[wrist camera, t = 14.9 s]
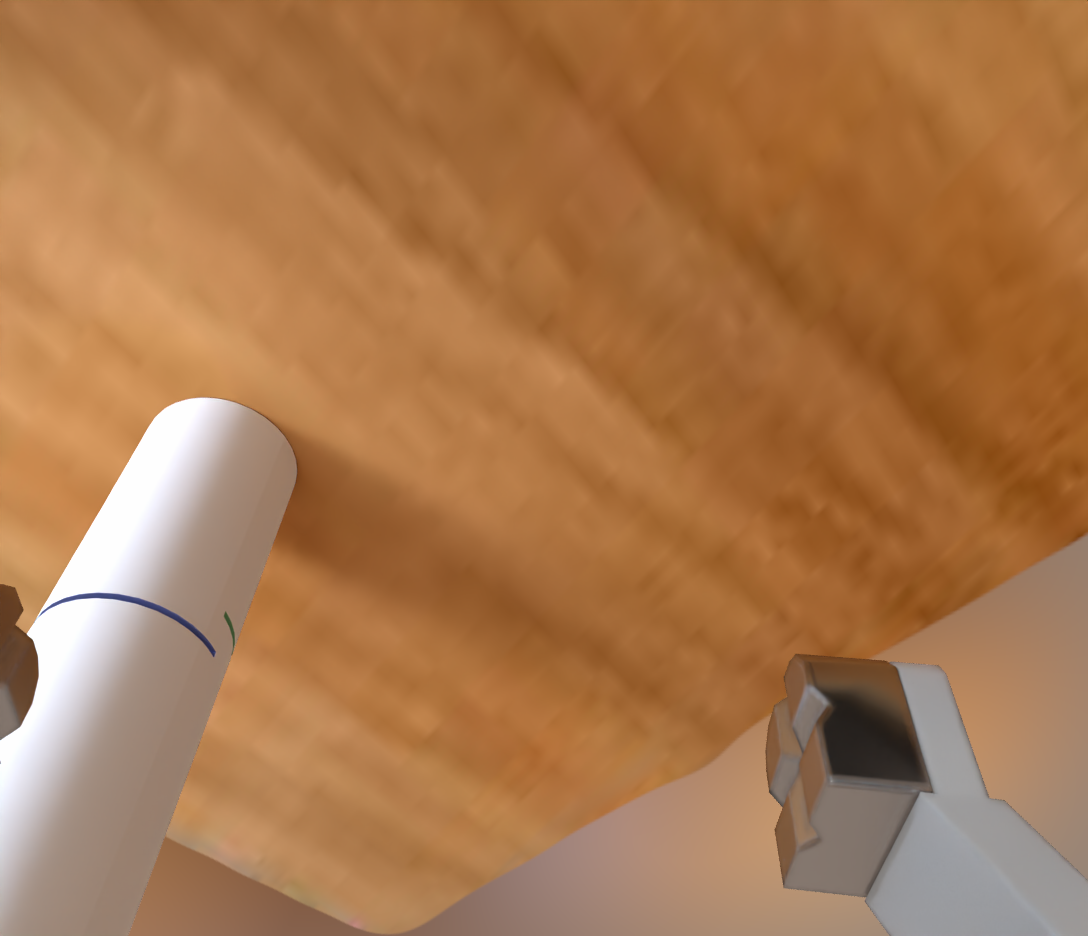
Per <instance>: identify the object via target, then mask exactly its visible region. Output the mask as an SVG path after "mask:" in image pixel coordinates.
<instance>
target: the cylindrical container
mask: <svg viewBox="0 0 1088 936" xmlns="http://www.w3.org/2000/svg"><path fill="white" fill-rule="evenodd" d="M296 477H297V464H296V458H295V455H294V453H293V450H292V447H291V446H290V444H289V442H288V441H287V439H286V437H285V436H284V435H283V434H282V433H281V432H280V430H279V429H278V428H277V427H276V426H275V425H274V424H272V423H271V422H270V421H269V420H268V419H266V418H265V417H264V416H262V415H260V414H259V413H257V412H255V411H254V410H252V409H250V408H248V407H245V406H243V405H240V404H238V403H235V402H231V401H227V400H223V399H216V398H194V399H187V400H184V401H180V402H177V403H175V404H173V405H171V406H169V407H167V408H165V409H164V410H163V411H162V412H161V413H159V414H158V415H157V416H156V417H155V419H154V420H153V422H152V423H151V425H150V426H149V428H148V430H147V431H146V433H145V435H144V437H143V438H142V440H141V442H140V443H139V445H138V447H137V449H136V450H135V452H134V454H133V455H132V457H131V459H130V461H129V462H128V464H127V466H126V467H125V469H124V471H123V473H122V474H121V476H120V478H119V479H118V481H117V483H116V485H115V486H114V488H113V490H112V491H111V493H110V495H109V496H108V498H107V500H106V502H105V503H104V505H103V507H102V508H101V510H100V512H99V514H98V515H97V517H96V519H95V520H94V522H93V524H92V525H91V527H90V529H89V530H88V532H87V534H86V536H85V537H84V539H83V541H82V542H81V544H80V546H79V547H78V549H77V551H76V552H75V554H74V556H73V558H72V559H71V561H70V563H69V564H68V566H67V568H66V569H65V571H64V573H63V574H62V576H61V578H60V580H59V581H58V583H57V585H56V586H55V588H54V590H53V591H52V593H51V595H50V596H49V598H48V600H47V602H46V603H45V605H44V607H43V608H42V610H41V612H40V613H39V615H38V617H37V618H36V620H35V622H34V624H33V626H32V627H31V629H30V630H29V632H28V634H27V635H28V636H29V637H30V638H32V639H33V641H34V644H35V647H36V651H37V654H38V665H39V678H38V683H37V687H36V691H35V695H34V699H33V703H32V706H31V707H30V709H29V711H28V713H27V715H26V717H25V719H24V721H23V723H22V725H21V727H20V728H18V729H17V730H15V731H14V732H12V733H11V734H9V735H8V736H6V737H5V738H3V739H2V740H0V762H1V764H0V936H128V934H129V932H130V929H131V927H132V924H133V921H134V918H135V915H136V913H137V910H138V907H139V905H140V902H141V900H142V897H143V894H144V892H145V889H146V886H147V883H148V880H149V878H150V875H151V873H152V870H153V867H154V865H155V862H156V859H157V856H158V854H159V851H160V848H161V846H162V843H163V840H164V837H165V835H166V832H167V829H168V827H169V824H170V821H171V819H172V816H173V813H174V810H175V808H176V805H177V802H178V800H179V797H180V794H181V792H182V789H183V786H184V783H185V781H186V778H187V775H188V773H189V770H190V767H191V765H192V762H193V759H194V756H195V754H196V751H197V748H198V746H199V743H200V740H201V738H202V735H203V732H204V729H205V727H206V724H207V721H208V719H209V716H210V713H211V710H212V708H213V705H214V702H215V700H216V697H217V694H218V692H219V689H220V686H221V683H222V681H223V678H224V675H225V673H226V670H227V667H228V665H229V662H230V659H231V656H232V654H233V651H234V648H235V646H236V643H237V640H238V637H239V635H240V632H241V629H242V627H243V624H244V621H245V619H246V616H247V613H248V610H249V608H250V605H251V602H252V600H253V597H254V594H255V591H256V589H257V586H258V583H259V581H260V578H261V575H262V573H263V570H264V567H265V564H266V562H267V559H268V556H269V554H270V551H271V548H272V545H273V543H274V540H275V537H276V535H277V532H278V529H279V526H280V524H281V521H282V518H283V516H284V513H285V510H286V508H287V505H288V502H289V499H290V497H291V494H292V491H293V489H294V486H295V483H296Z"/></svg>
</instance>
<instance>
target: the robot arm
mask: <svg viewBox="0 0 1088 936" xmlns="http://www.w3.org/2000/svg"><path fill="white" fill-rule="evenodd" d="M22 612H23V607H22V604H21V602H20V599H19V597H18V594H17V591H16V589H15V588H14V587H11V586H7V585H4V584H0V740H2V739H3V738H5V737H6V736H8V735H9V734H11V733H12V732H14V731H15V730H17V729H18V728H20V727H21V725H22V723H23V721H24V719H25V717H26V715H27V713H28V711H29V709H30V707H31V706H32V703H33V699H34V695H35V691H36V687H37V683H38V678H39V665H38V654H37V651H36V647H35V644H34V641H33V639H32V638H30V637H29V636H28V635H27V634H26V633H24V632H23V631H22V630H21V629H20V628H18V627H17V626H16V625H15V624H16V622H17V621H18V619H19V617H20V615H21V614H22ZM784 682H785V688H786V694H787V697H786V698H785V699H783V700H782V701H780V702H779V703H777V704H775V705H774V708H773V712H772V715H771V719H770V722H769V725H768V733H767V742H766V772H767V780H768V787H769V793H770V794H771V795H772V796H773V797H774V798H775V799H776V801H778V803H779V804H780V805H781V806H782V807H783V808H782V811H781V814H780V817H779V819H778V822H777V825H776V828H775V835H776V841H777V848H778V854H779V861H780V867H781V874H782V880H783V886H784V888H788V889H797V890H806V891H815V892H824V893H833V894H842V895H851V896H860V897H866V899H865V902H866V904H867V905H868V907H869V908H870V909H871V910H872V912H873V914H874V915H875V916H876V918H877V919H878V920H879V922H880V923H881V924H882V926H883V927H884V929H885V930H886V931H887V933H888V934H889V936H1088V880H1087V879H1086V878H1085V877H1084V876H1083V875H1082V874H1081V873H1080V872H1079V871H1078V870H1077V869H1076V868H1075V867H1074V866H1073V865H1071V863H1069V862H1068V861H1067V860H1066V859H1065V858H1064V857H1063V856H1062V855H1061V854H1060V853H1059V852H1058V851H1057V850H1056V849H1055V848H1054V847H1053V846H1052V845H1050V843H1049V842H1047V841H1046V840H1045V839H1044V838H1043V837H1042V836H1041V835H1040V834H1039V833H1038V832H1037V831H1036V830H1035V829H1034V828H1033V827H1032V826H1031V825H1030V824H1028V822H1026V821H1025V820H1024V819H1023V818H1022V817H1021V816H1020V815H1019V814H1018V813H1017V812H1016V811H1015V810H1014V809H1013V808H1012V807H1011V806H1010V805H1009V804H1008V803H1006V801H1005V800H999V799H991V798H989V796H988V793H987V790H986V787H985V784H984V781H983V778H982V775H981V773H980V770H979V767H978V764H977V761H976V758H975V755H974V752H973V749H972V747H971V744H970V741H969V738H968V735H967V732H966V729H965V726H964V724H963V721H962V718H961V715H960V712H959V709H958V706H957V704H956V701H955V698H954V695H953V692H952V689H951V686H950V683H949V680H948V678H947V675H946V673H945V672H944V671H943V670H942V669H941V667H940V666H938V665H926V664H914V663H902V662H889V663H888V662H887V661H882V660H869V659H856V658H843V657H831V656H818V655H805V654H795V655H794V656H793V658H792V659H791V660H790V661H789V664H788V667H787V670H786V672H785V675H784ZM0 764H1V762H0Z"/></svg>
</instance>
